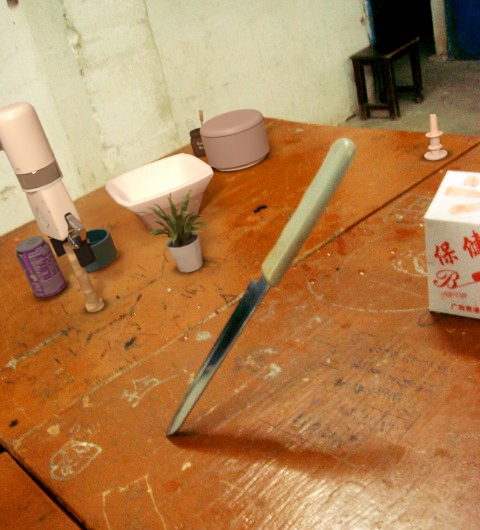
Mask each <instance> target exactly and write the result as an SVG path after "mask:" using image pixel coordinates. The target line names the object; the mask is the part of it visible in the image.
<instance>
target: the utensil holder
mask: <svg viewBox="0 0 480 530" xmlns="http://www.w3.org/2000/svg"><path fill="white" fill-rule="evenodd" d="M198 114H199V115H198V117H199V122H200V125H201V126H202V125H203V124H204V123H203V122H204V111H203V109H199V110H198ZM189 123H191V126H189ZM185 126H186V128H187V129H188V131H189V133H188V134H189V135H188V136H189V138H190V139H189V141H190V142H189V143H190V146H191V150H192V153H193V156H195V157H203V156H206V153H205V149H204V146H203V142H202V138H201V135H200V128H201V126H200V127H196V125H194V123H192V119H190V118H189V119H187V120H186V124H185Z"/></svg>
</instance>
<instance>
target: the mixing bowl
mask: <svg viewBox="0 0 480 530" xmlns="http://www.w3.org/2000/svg"><path fill="white" fill-rule="evenodd" d="M86 234H87V235H88V239H89V243H90V246H91V248H92V250H93V253H94V255H95V257H96V261H95V262H93V263H91V264H90V265H88V266H86V267H85V269H86V271H87V273H91V272H96V271H99V270H102V269H104V268H107V266H110V265H111V263H113V262H115V259H116V258H117V257H118V253H119V252H118V250H117V246H116V244H115V242H114V240H113V236H112V235H111V231H110V230H109V229H107V228H105V227H104V228H103V227H101V228H100V227H99V228H91V229H89V230H88V229H87V230H86ZM77 236H78V235H75V236H73V238H74V240H75V241H76V237H77Z"/></svg>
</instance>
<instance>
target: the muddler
mask: <svg viewBox="0 0 480 530" xmlns="http://www.w3.org/2000/svg"><path fill="white" fill-rule="evenodd" d="M63 247H64V249H65V252H66V254H65V255H66V256H67V259H68V261H69V263H70V265H71V268H72V270H73V272H74V275H75V278H76V279H77V281H78V285H79V286H80V289H81V291H82V293H83V296H84V298H85V300H86V303H85V304H84V307H85V309H86V311H87V312H88V313H97V312H98V311H101V310H102V309H103V308H104V307H105V302H104V301H103V300H104V299H103V298H102V297H98V294H97V292H96V289H95V287H94V285H93V283H92V281H91V278H90V276H89V274H88V273H89V272H87V271H86V269H85V267H84V268H82V267H81V266H80V264H79V262H78V260H77V258H76V255H75V253H74V251H73V249H74V247H73V245H72V244H71V243H70V241H69V240H68V242H66V243H64V244H63Z"/></svg>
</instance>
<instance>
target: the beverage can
mask: <svg viewBox="0 0 480 530" xmlns="http://www.w3.org/2000/svg"><path fill="white" fill-rule="evenodd" d="M14 249H15V251H16V258H17V261H18V263H19V265H20V267H21V269H22V271H23V273H24V275H25V277H26V279H27V282H28V284H29V286H30V288H31V290H32V292H33V294H34V296H35V297H36V298H50V297H54V296H55V295H57V294H59V293H60V292H62V290H63V289H64V288H65V287H66V286H67V280H66V279H65V276H64V274H63V272H62V270H61V268H60V265H59V263H58V261H57V259H56V255H55V254H54V251H53V248H52V247H51V245H50V243H49V242H48V241H46V239H45V237H44V236H43V235H33V236H29V237H26V238H25V239H22V240H21V241H19V242H18V243H17V244H16V245H15V247H14Z"/></svg>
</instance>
